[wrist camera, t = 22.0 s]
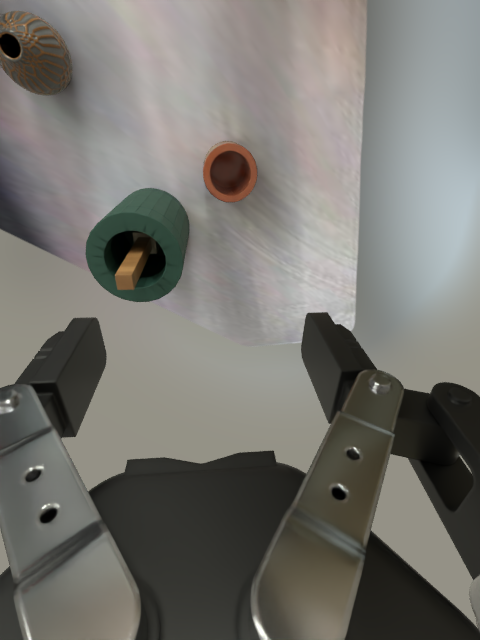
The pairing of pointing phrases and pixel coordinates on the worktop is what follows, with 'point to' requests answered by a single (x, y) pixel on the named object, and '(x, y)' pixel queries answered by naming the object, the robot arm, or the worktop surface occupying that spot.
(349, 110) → the worktop surface
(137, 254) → the brush
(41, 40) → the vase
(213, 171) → the cup
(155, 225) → the green tube sleeve
